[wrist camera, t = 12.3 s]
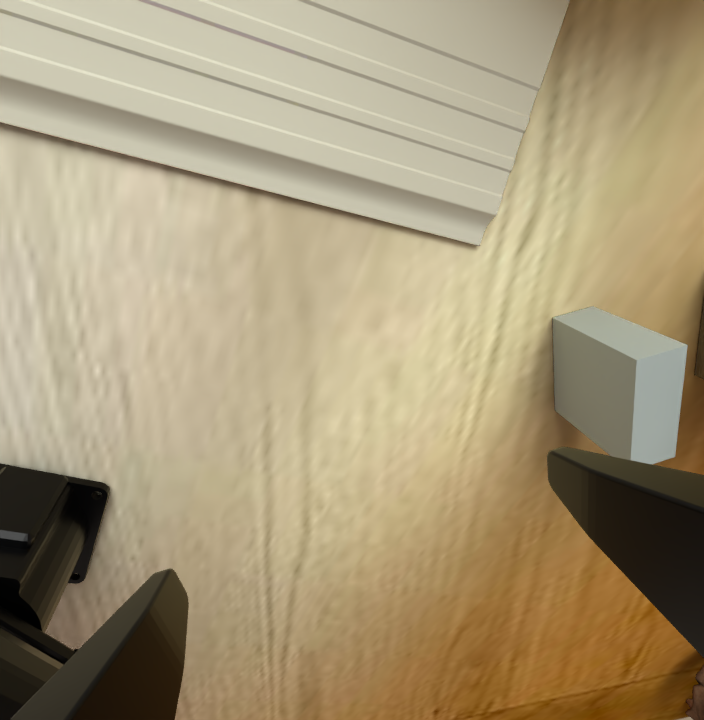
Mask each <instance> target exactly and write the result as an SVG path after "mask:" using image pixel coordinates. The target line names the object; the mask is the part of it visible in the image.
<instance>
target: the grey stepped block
mask: <svg viewBox="0 0 704 720" xmlns="http://www.w3.org/2000/svg"><path fill="white" fill-rule="evenodd" d="M694 375H696V376H698V377H700V378H702V379H704V302H703V310H702V318H701V326H700V334H699V342H698V350H697V358H696V366H695V374H694Z"/></svg>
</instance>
